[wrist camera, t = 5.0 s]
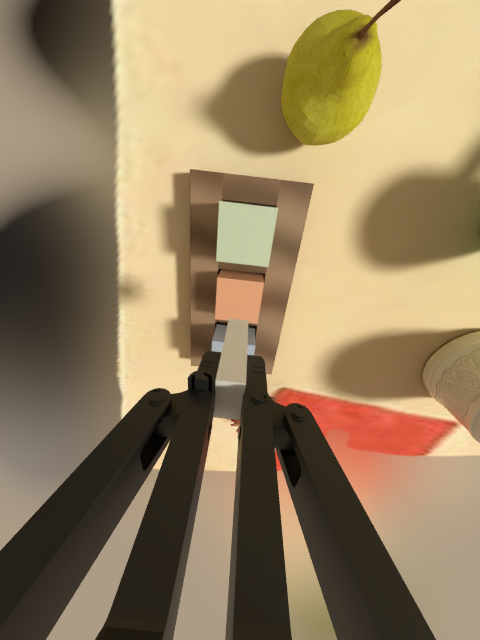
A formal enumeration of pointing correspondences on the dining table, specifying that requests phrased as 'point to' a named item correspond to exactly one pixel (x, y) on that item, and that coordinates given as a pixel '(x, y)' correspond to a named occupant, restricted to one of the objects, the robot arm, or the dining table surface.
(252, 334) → the button slate
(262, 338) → the button board
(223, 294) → the button terracotta
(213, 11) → the dining table surface
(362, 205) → the dining table surface
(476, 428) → the jar
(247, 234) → the button sage
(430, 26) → the dining table surface
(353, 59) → the fruit
